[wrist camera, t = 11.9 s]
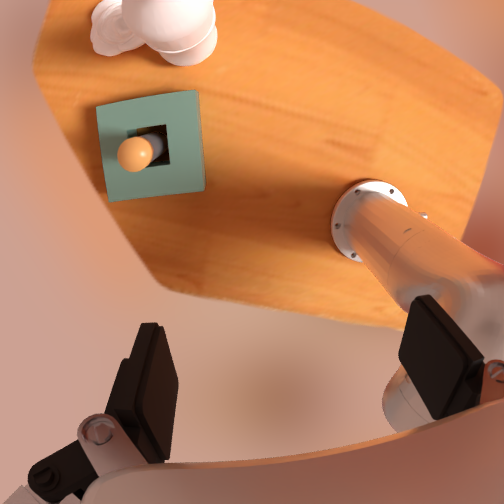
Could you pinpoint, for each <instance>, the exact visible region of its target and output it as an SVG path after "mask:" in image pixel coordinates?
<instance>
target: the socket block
mask: <svg viewBox="0 0 504 504" xmlns="http://www.w3.org/2000/svg"><path fill="white" fill-rule="evenodd" d="M96 114H97V123H98V132H99V141H100V149H101V156H102V163H103V170H104V176H105V182H106V188H107V194H108V200H109V202H116V201H123V200H130V199H138V198H146V197H154V196H163V195H172V194H181V193H191V192H201V191H204V189H205V185H206V176H205V166H204V155H203V143H202V131H201V119H200V106H199V92H197V91H196V90H189V91H181V92H173V93H166V94H159V95H153V96H147V97H141V98H136V99H130V100H125V101H120V102H115V103H111V104H106V105H101V106H97V107H96ZM163 124H166V127H167V138H168V148H169V157H170V160H164V161H157V162H150V164H149V165H148V166H146V167H145V168H144V169H142V170H140V171H138V172H129V171H127V170H125V169H124V168H122V166H121V165H120V164H119V161H118V158H117V153H118V149H119V147H120V145H121V144H122V143H123V142H124V141H125V140H127V139H129V138H132V137H137V128H143V127H150V126H156V125H163Z"/></svg>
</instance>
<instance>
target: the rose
mask: <svg viewBox="0 0 504 504" xmlns="http://www.w3.org/2000/svg"><path fill="white" fill-rule="evenodd" d="M121 5H122V0H103V1H102V2H100V3H99V4H98V5H97V6H96V7H95V9H94V11H93V13H92V16H91V20H92V24H93V25H92V29H91V34H90V40H91V42H92V43H93V49H94V51H95V52H96V53H98V54H100V55H104V56H115V55H118V54H120V53H122V52H125V51H129V50H133V49H136V48H138V47H140V46H142V45H144V44H145V42H144V40H143V39H141V38H140V37H138V36H136V35H135V34H134V33H133V32H131V31H130V29H129V28H128V27H127V25H126V23H125V21H124V19H123V15H122V9H121Z"/></svg>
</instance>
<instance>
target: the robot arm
mask: <svg viewBox="0 0 504 504" xmlns="http://www.w3.org/2000/svg"><path fill="white" fill-rule="evenodd" d="M355 190H357V191H356V192H355ZM389 190H390V191H389ZM336 223H337V225H336ZM331 234H332V237H333V240H334V242H335V244H336V246H337V248H338V249H339V250H340V251H341V253H343V254H344V255H345V256H346V257H347V258H349V259H351V260H354V261H357V262H364V264H365V265H366V266H367V267H368V268H369V270H370V271H371V272H372V273H373V274H374V276H375V277H376V278H377V279H378V281H379V282H380V283H381V284H382V286H383V287H384V288H385V289H386V291H387V292H388V293H389V294H390V296H391V297H392V298H393V299H394V300H395V302H396V303H397V304H398V305H399V306H400V308H402V309H403V310H404V311H405V312H407V313H408V318H407V322H406V326H405V330H404V334H403V338H402V342H401V345H400V349H399V353H398V354H399V355H398V356H399V360H400V362H401V366H400V367H399V369H398V370H397V371H396V373H395V374H394V375H393V377H392V378H391V380H390V381H389V383H388V384H387V386H386V388H385V391H384V393H383V398H382V407H383V411H384V414H385V417H386V419H387V421H388V422H389V424H390V425H391V426H392V428H393V429H394V430H395V431H396V432H397V433H396V434H392V435H389V436H385V437H382V438H377V439H373V440H369V441H365V442H361V443H357V444H352V445H348V446H343V447H338V448H333V449H328V450H322V451H316V452H310V453H303V454H296V455H289V456H281V457H273V458H263V459H252V460H237V461H220V462H185V463H164V462H165V460H169V458H170V451H171V442H172V433H173V425H174V417H175V409H176V401H177V394H178V377H177V373H176V370H175V367H174V363H173V360H172V356H171V353H170V349H169V345H168V342H167V338H166V334H165V331H164V328H163V326H159V325H158V323H142V324H141V325H140V328H139V331H138V334H137V337H136V340H135V343H134V346H133V348H132V352H131V355H130V357H129V359H127V358H124V359H123V360H122V362H121V364H120V367H119V370H118V373H117V376H116V379H115V382H114V385H113V388H112V391H111V394H110V397H109V400H108V403H107V406H106V410H105V413H104V414H102V413H101V414H94V415H91V416H89V417H87V418H86V419H84V420H83V422H82V423H81V424H80V425H79V428H78V432H77V436H78V440H76V441H74V442H73V443H71V444H69V445H68V446H66V447H64V448H63V449H60V450H59V451H57V452H55V453H53V454H52V455H50V456H48V457H46V458H45V459H43V460H41V461H39V462H37V463H36V464H35V465H33V466H32V468H31V469H30V471H29V474H28V484H27V485H26V486H25V487H23V486H22V485H21V486H20V487H19V488H18V489H17V490H16V491H15V492H14V493H13V494H12V495H11V496H10V497H9V498H8V499H7V500H6V501H5V502H4V503H3V504H504V265H502V264H500V263H498V262H496V261H494V260H492V259H490V258H488V257H486V256H484V255H482V254H480V253H479V252H477V251H475V250H473V249H472V248H470V247H468V246H467V245H465V244H464V243H462V242H461V241H459V240H457V239H456V238H455V237H453V236H452V235H450V234H449V233H447V232H446V231H444V230H443V229H441V228H440V227H438V226H437V225H435V224H434V223H432V222H431V221H429V220H428V219H427V214H426V213H425V212H419V213H417V212H415V211H413V210H412V209H410V208H409V207H408V206H407V203H406V200H405V198H404V196H403V195H402V193H401V192H400V191H399V190H398V189H397V188H396V187H394V186H392V185H391V184H389V183H387V182H384V181H380V180H366V181H362V182H360V183H357V184H355V185H353V186H352V187H351V188H349V189H348V190H347V191H346V192H345V193H344V194H343V195H342V196H341V197H340V199H339V200H338V202H337V203H336V205H335V208H334V210H333V213H332V217H331Z"/></svg>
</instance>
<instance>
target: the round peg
mask: <svg viewBox="0 0 504 504" xmlns="http://www.w3.org/2000/svg"><path fill="white" fill-rule="evenodd" d="M167 148H168V139H167V137H166V135H165V134H163V133H162V132H152V133H149V134H145V135H142V136H139V137H138V136H137V137H132V138H129V139H127V140H125V141H124V142H123V143H122V144H121V145H120V147H119V149H118V153H117V158H118V161H119V164H120V165H121V166H122V168H124V169H125V170H127V171H129V172H138V171H140V170H142V169H144V168H145V167H146V166H148V165H149V164H150V162H152V161H153V160H155V159H156V158H157V157H159V156H160V155H162V154H163V153H164V152H165V151H166V150H167Z"/></svg>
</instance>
